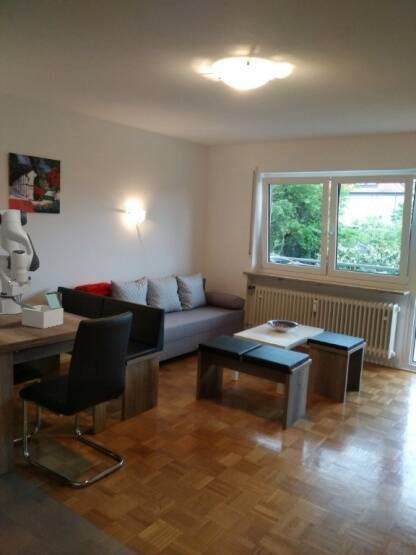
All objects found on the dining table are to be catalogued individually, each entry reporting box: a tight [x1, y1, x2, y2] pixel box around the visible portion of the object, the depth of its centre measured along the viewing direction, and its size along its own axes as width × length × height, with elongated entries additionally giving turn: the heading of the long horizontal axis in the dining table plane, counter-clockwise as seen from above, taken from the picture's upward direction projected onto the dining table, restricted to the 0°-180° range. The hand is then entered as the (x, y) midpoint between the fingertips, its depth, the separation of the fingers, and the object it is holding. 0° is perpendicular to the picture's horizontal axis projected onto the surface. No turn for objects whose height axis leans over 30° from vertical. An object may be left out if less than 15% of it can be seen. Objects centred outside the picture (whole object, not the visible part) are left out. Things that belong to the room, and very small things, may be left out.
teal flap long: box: [14, 301, 36, 310], centre depth 264 cm, size 10×1×9 cm
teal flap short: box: [44, 294, 60, 309], centre depth 273 cm, size 1×8×9 cm, turn 154°
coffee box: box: [46, 291, 63, 308], centre depth 299 cm, size 9×6×16 cm
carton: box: [21, 304, 64, 330], centre depth 275 cm, size 19×17×10 cm
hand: (19, 301), depth 259 cm, fingers closed
